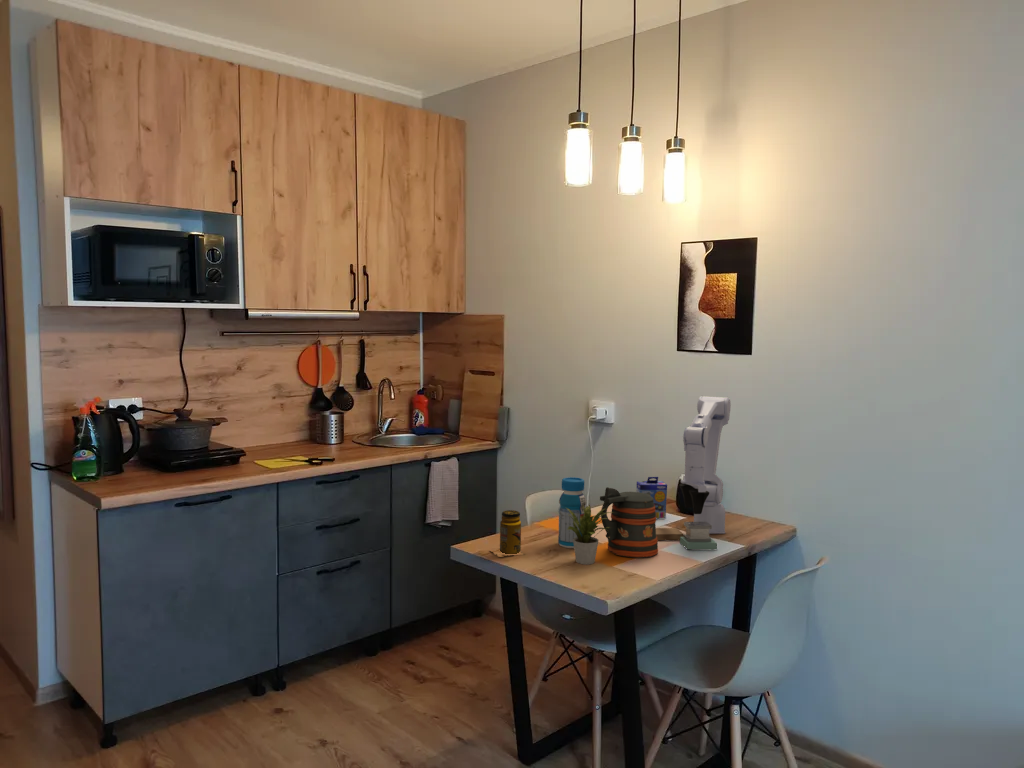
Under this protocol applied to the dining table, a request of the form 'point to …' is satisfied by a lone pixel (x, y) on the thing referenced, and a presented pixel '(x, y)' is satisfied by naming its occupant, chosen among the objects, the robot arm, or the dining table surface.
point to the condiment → (510, 532)
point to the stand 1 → (668, 534)
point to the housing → (697, 531)
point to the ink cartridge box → (655, 494)
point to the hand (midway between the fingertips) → (693, 510)
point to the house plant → (586, 535)
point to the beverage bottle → (574, 502)
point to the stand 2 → (698, 544)
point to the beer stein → (630, 523)
